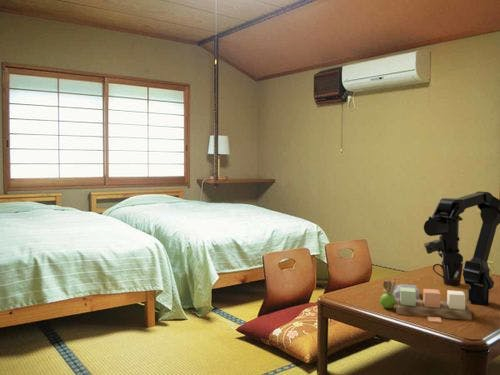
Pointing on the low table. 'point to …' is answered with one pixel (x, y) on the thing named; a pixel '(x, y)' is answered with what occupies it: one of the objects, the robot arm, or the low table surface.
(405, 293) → the key sage
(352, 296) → the low table surface
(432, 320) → the tile
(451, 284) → the coffee mug
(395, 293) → the stone block
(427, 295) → the peach cube
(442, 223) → the robot arm
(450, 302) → the cream cube
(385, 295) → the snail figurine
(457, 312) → the walnut board
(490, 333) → the low table surface
